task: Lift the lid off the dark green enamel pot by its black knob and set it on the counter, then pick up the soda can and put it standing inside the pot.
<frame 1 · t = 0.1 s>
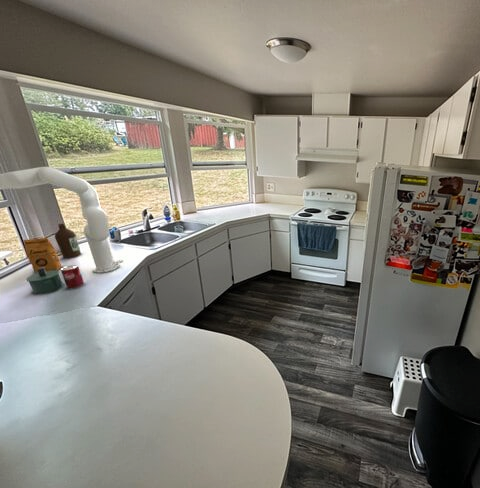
pot: (48, 288, 142), on the table
lid: (43, 276, 140), point 8 cm above the table, touching pot
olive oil: (72, 256, 185), on the table
soda can: (76, 286, 146), on the table
coffee package: (49, 270, 163), on the table
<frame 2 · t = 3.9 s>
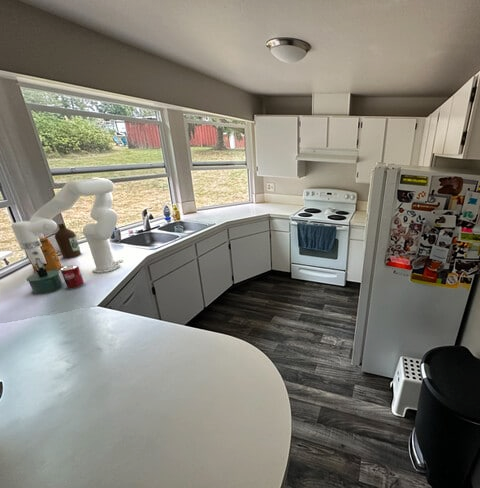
hand: (43, 274, 139), 9 cm above the table, tool pointing down, fingers closed on lid, 2 cm apart
lid: (43, 276, 140), point 8 cm above the table, touching gripper
everything else where it was.
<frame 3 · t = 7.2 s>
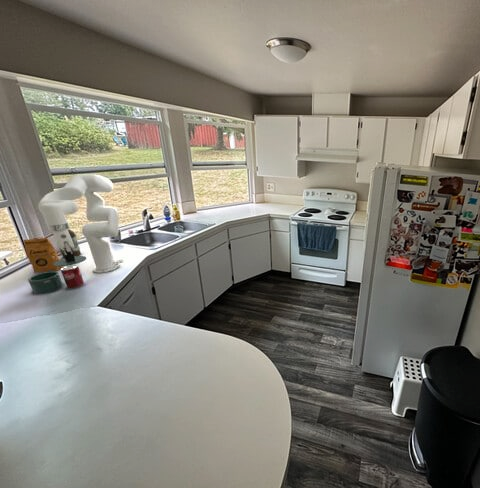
hand: (70, 260, 133), 20 cm above the table, tool pointing down, fingers closed on lid, 2 cm apart
lid: (70, 261, 133), point 19 cm above the table, touching gripper
everything else where it was.
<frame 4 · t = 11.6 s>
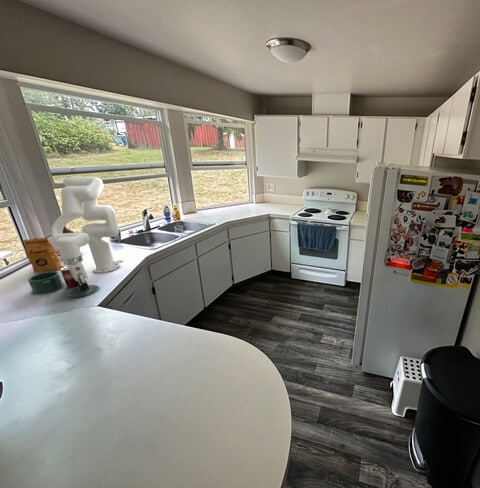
hand: (83, 287, 139), 3 cm above the table, tool pointing down, fingers open, 9 cm apart
lid: (83, 291, 140), point 1 cm above the table
everything else where it was.
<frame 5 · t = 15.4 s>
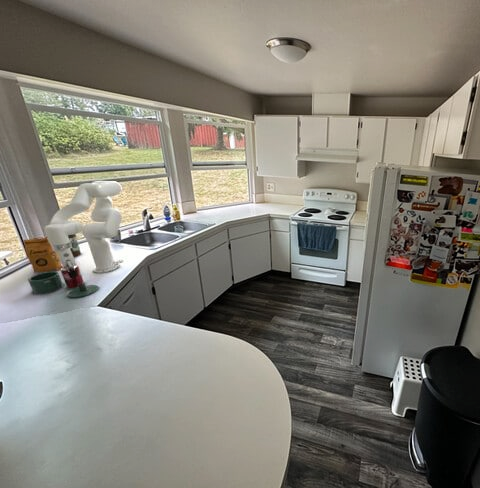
hand: (71, 275, 143), 7 cm above the table, tool pointing down, fingers closed on soda can, 7 cm apart
soda can: (76, 286, 146), on the table, touching gripper
everything else where it was.
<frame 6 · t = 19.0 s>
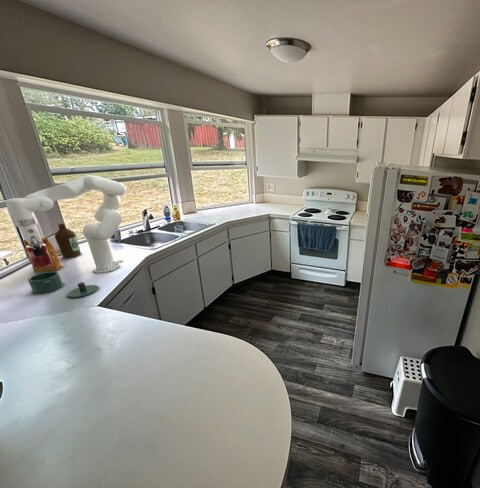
hand: (38, 253, 135), 22 cm above the table, tool pointing down, fingers closed on soda can, 7 cm apart
soda can: (43, 266, 138), point 14 cm above the table, touching gripper
everything else where it was.
when the fingers open (8 cm above the table, at t = 22.7 s): soda can stays where it is, resting on pot.
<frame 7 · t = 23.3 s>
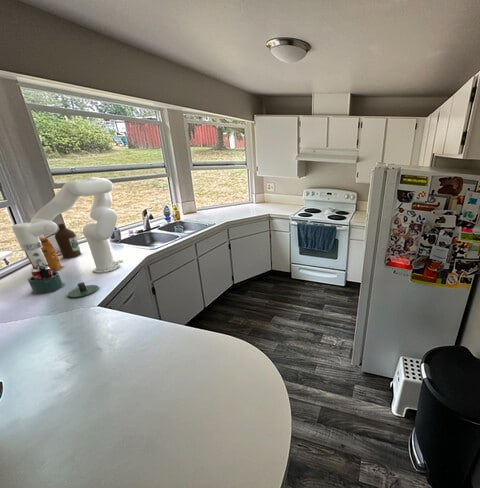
hand: (43, 274, 139), 9 cm above the table, tool pointing down, fingers open, 9 cm apart
soda can: (48, 288, 142), resting on pot
everything else where it was.
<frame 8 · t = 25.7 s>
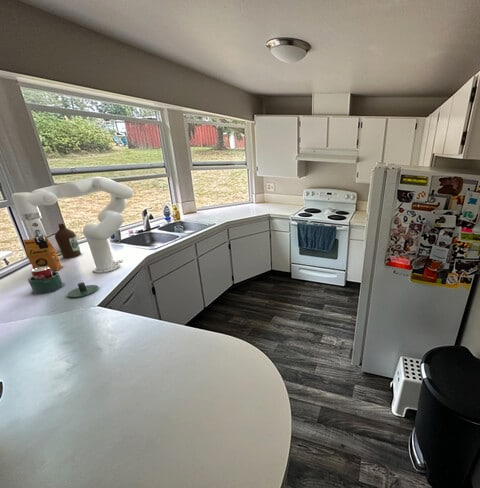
hand: (42, 246, 138), 24 cm above the table, tool pointing down, fingers open, 9 cm apart
nothing on the table moved.
at the end: lid inside the target area (0.2 cm from its centre), point 0.6 cm above the table; soda can 0.0 cm off-centre in the pot, point 0.3 cm above the pot's base; soda can tilted 0° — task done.
